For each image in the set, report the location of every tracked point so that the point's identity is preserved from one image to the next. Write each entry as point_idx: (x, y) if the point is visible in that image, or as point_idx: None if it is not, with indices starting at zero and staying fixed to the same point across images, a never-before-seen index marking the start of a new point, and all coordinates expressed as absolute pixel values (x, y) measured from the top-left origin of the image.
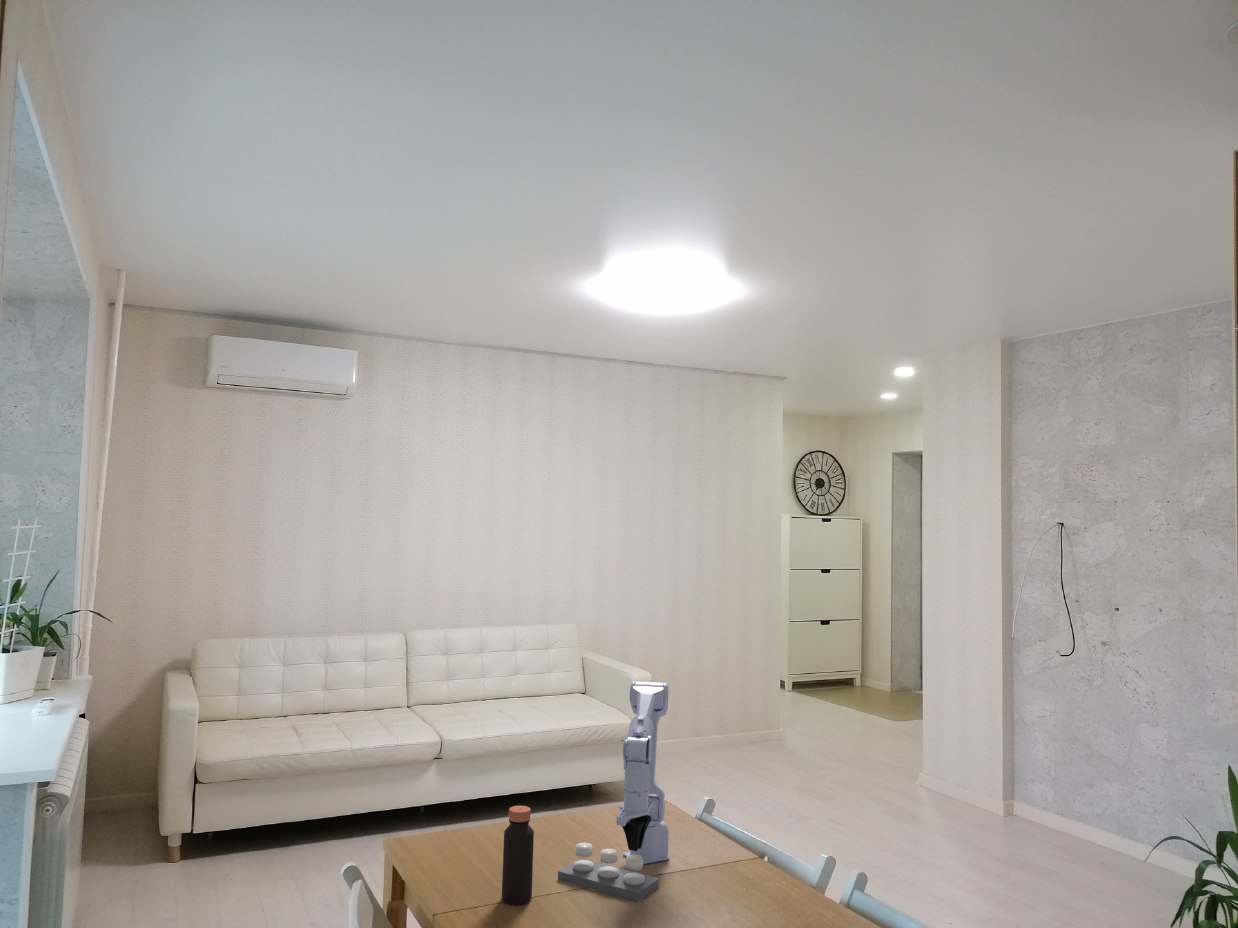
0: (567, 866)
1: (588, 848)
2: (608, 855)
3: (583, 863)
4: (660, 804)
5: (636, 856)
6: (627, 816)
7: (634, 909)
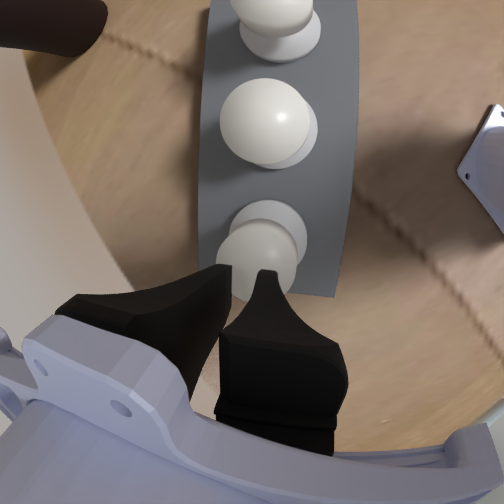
0: None
1: (250, 21)
2: (224, 139)
3: None
4: None
5: (277, 268)
6: (4, 411)
7: (166, 275)
